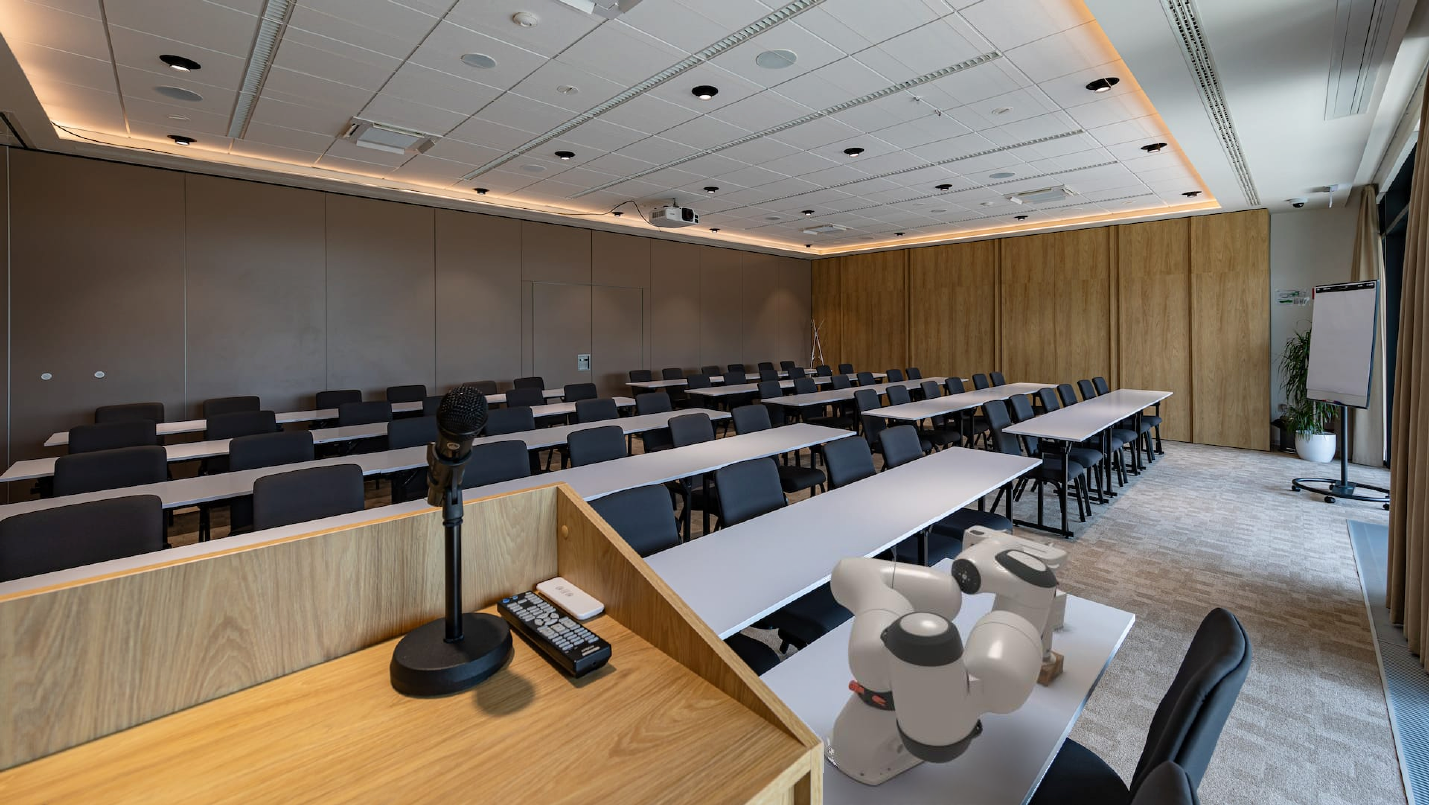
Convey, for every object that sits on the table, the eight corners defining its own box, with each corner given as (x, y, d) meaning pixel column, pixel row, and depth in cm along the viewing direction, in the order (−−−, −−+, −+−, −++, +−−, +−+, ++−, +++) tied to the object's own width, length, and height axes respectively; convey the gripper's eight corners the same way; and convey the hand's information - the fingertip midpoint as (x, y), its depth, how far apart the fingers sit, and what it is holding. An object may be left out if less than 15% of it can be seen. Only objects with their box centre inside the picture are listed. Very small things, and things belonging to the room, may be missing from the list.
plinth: (1046, 686, 147) (1047, 670, 146) (1008, 669, 153) (1009, 654, 153) (1062, 670, 153) (1064, 655, 152) (1025, 654, 160) (1027, 639, 159)
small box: (1025, 618, 178) (1028, 584, 176) (1038, 614, 181) (1042, 581, 179) (1050, 631, 171) (1054, 596, 169) (1063, 627, 173) (1067, 592, 172)
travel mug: (1055, 663, 149) (1062, 586, 145) (1026, 660, 150) (1032, 584, 147) (1047, 649, 155) (1053, 575, 151) (1019, 646, 156) (1025, 573, 153)
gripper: (1054, 557, 122) (1080, 540, 131) (957, 528, 137) (986, 514, 146) (1051, 587, 123) (1077, 567, 132) (955, 554, 138) (984, 539, 147)
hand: (1029, 539), depth 139 cm, fingers open, 8 cm apart
